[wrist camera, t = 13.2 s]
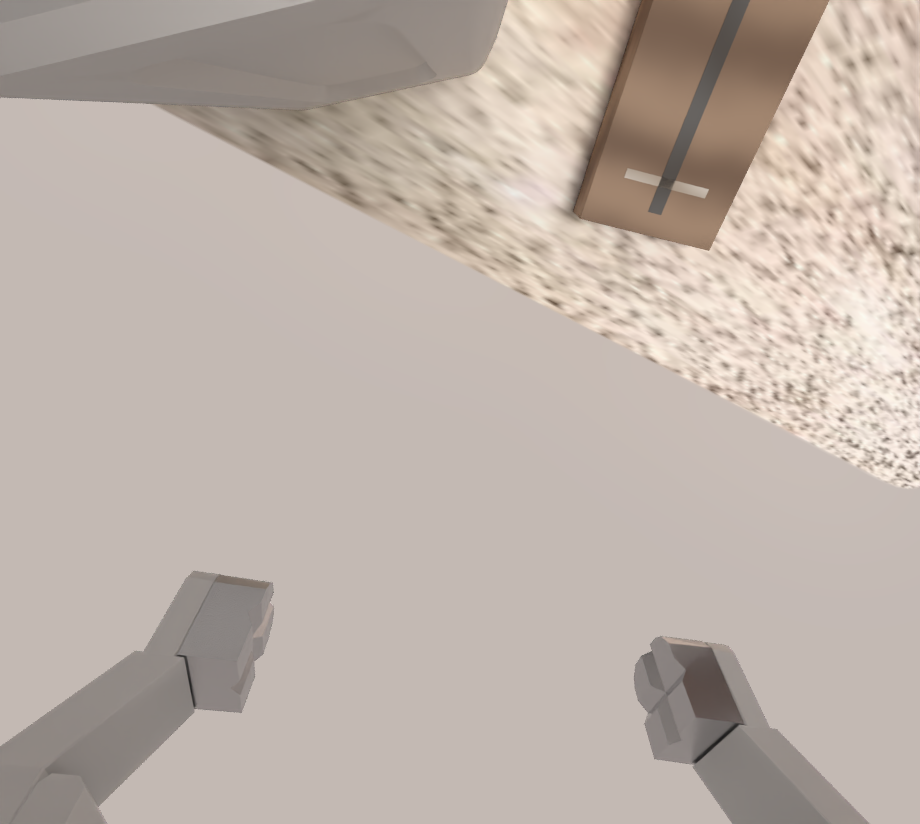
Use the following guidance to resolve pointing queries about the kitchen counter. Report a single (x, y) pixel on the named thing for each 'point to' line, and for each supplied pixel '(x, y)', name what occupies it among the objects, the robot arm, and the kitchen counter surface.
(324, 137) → the kitchen counter surface
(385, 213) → the kitchen counter surface
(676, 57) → the board
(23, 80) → the grey box
